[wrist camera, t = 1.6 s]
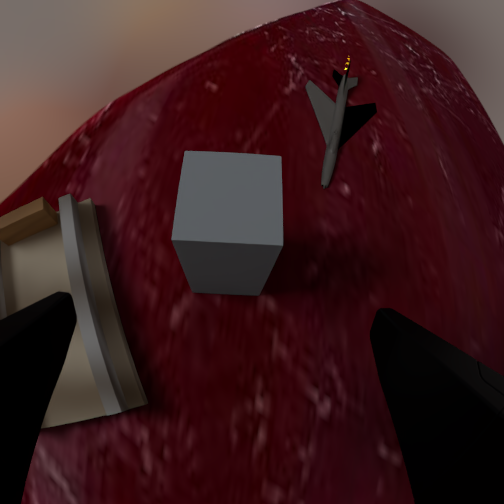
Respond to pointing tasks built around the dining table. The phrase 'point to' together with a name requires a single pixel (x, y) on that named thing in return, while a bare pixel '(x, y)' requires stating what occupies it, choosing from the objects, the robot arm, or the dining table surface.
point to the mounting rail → (85, 301)
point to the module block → (228, 221)
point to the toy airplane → (337, 118)
